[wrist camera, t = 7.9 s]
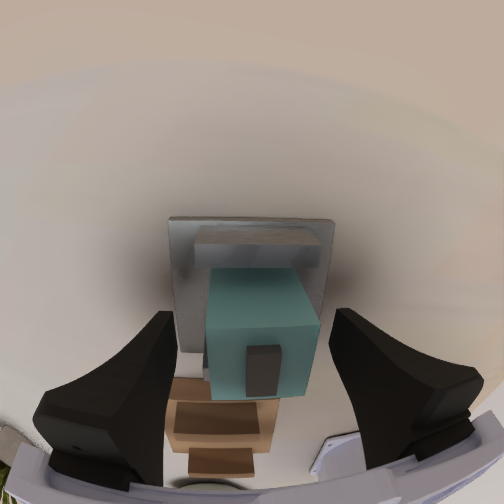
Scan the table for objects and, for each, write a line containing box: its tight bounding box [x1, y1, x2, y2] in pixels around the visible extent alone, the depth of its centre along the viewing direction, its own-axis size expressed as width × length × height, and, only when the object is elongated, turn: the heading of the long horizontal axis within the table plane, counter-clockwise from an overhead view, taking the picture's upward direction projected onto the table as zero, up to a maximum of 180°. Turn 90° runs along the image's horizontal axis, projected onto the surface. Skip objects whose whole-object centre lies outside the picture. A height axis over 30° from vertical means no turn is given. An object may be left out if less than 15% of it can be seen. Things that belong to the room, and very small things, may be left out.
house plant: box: [0, 425, 33, 504], centre depth 15 cm, size 14×14×16 cm
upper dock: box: [165, 378, 280, 478], centre depth 17 cm, size 8×8×4 cm
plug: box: [205, 268, 321, 400], centre depth 12 cm, size 4×4×6 cm
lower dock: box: [168, 217, 335, 381], centre depth 14 cm, size 8×8×3 cm
